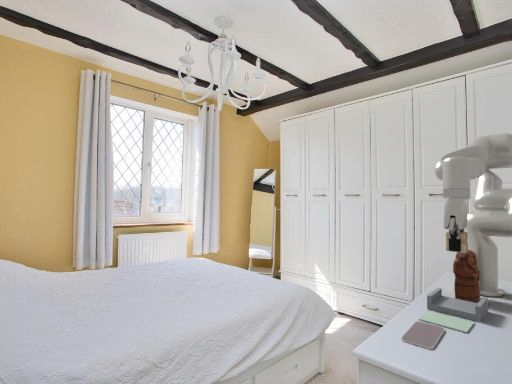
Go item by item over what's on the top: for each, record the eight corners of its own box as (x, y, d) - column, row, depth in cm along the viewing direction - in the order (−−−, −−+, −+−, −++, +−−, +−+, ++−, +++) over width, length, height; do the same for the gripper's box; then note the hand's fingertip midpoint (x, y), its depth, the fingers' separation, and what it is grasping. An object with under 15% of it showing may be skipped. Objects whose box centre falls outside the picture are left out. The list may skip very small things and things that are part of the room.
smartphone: (399, 338, 76) (416, 320, 87) (399, 342, 76) (416, 323, 87) (432, 348, 71) (445, 328, 82) (432, 352, 71) (445, 331, 82)
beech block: (450, 248, 101) (450, 231, 101) (468, 250, 97) (467, 232, 97) (446, 250, 97) (445, 232, 97) (464, 252, 94) (464, 233, 94)
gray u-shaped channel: (437, 300, 106) (437, 287, 106) (487, 311, 96) (487, 297, 96) (427, 309, 97) (427, 295, 98) (480, 322, 87) (480, 307, 87)
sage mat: (428, 312, 95) (428, 310, 95) (474, 323, 86) (474, 322, 86) (418, 319, 89) (418, 318, 89) (467, 333, 80) (467, 331, 80)
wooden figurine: (473, 305, 101) (472, 252, 101) (451, 300, 106) (451, 250, 106) (483, 298, 108) (482, 249, 108) (462, 294, 113) (462, 246, 113)
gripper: (450, 194, 106) (450, 245, 106) (435, 194, 94) (436, 252, 94) (475, 194, 100) (476, 248, 100) (464, 194, 89) (464, 255, 88)
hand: (457, 249), depth 97 cm, fingers closed on beech block, 5 cm apart
